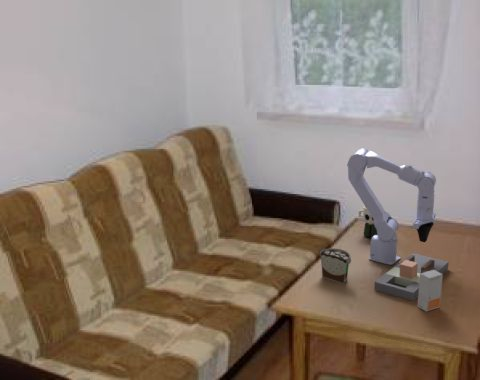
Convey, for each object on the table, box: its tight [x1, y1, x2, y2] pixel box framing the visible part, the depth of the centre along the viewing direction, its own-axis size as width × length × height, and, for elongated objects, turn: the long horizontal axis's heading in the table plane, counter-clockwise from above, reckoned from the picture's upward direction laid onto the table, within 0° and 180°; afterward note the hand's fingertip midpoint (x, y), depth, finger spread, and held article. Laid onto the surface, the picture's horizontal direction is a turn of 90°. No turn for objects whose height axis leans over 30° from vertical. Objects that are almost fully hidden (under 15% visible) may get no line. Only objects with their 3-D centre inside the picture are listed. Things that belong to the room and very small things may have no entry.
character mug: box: [358, 204, 377, 239], centre depth 262 cm, size 11×7×13 cm, turn 70°
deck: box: [374, 252, 449, 302], centre depth 224 cm, size 14×30×3 cm, turn 141°
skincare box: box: [417, 270, 444, 312], centre depth 203 cm, size 6×4×12 cm
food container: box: [318, 248, 352, 285], centre depth 226 cm, size 12×6×10 cm, turn 47°
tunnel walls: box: [400, 254, 435, 273], centre depth 226 cm, size 9×8×2 cm
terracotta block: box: [399, 260, 418, 279], centre depth 220 cm, size 4×4×4 cm
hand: (423, 241), depth 233 cm, fingers closed
